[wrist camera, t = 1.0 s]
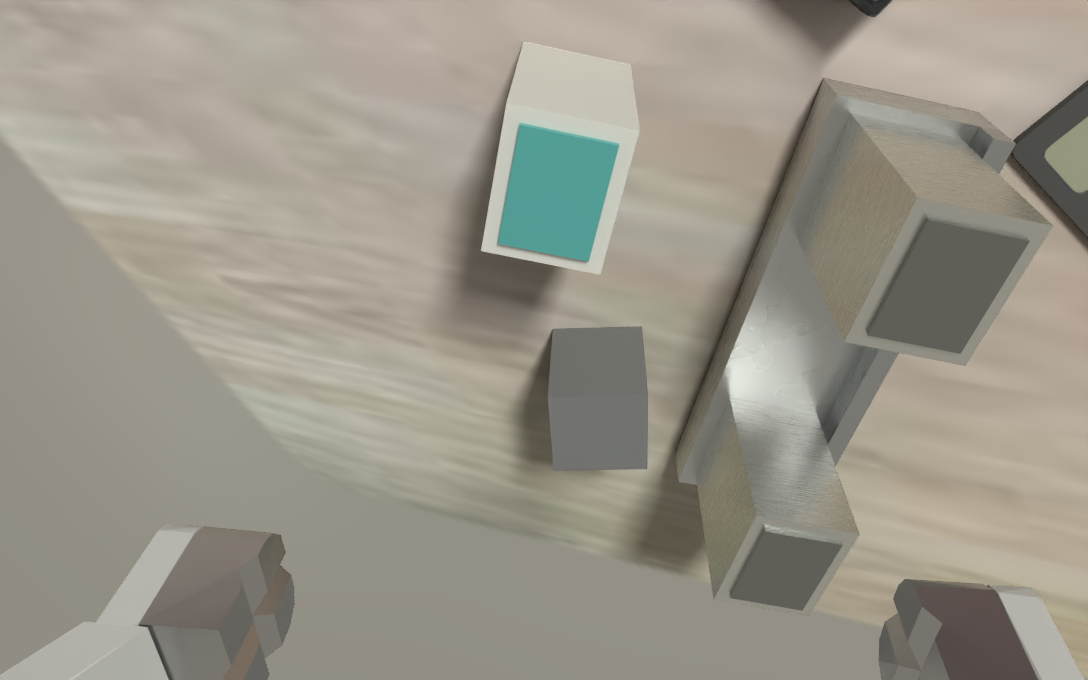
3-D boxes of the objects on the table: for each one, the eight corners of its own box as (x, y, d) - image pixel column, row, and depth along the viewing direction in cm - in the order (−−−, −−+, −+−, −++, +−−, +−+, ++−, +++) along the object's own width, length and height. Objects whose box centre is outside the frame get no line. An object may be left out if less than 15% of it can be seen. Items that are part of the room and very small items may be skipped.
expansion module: (501, 168, 32) (480, 253, 26) (523, 40, 29) (506, 104, 23) (598, 188, 32) (600, 277, 26) (630, 64, 29) (640, 133, 23)
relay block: (557, 397, 38) (553, 470, 34) (553, 328, 36) (547, 397, 32) (641, 395, 38) (647, 469, 34) (641, 325, 36) (647, 395, 32)
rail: (674, 453, 40) (693, 608, 32) (823, 78, 29) (904, 178, 22) (790, 474, 40) (835, 632, 33) (978, 112, 30) (1110, 222, 22)
